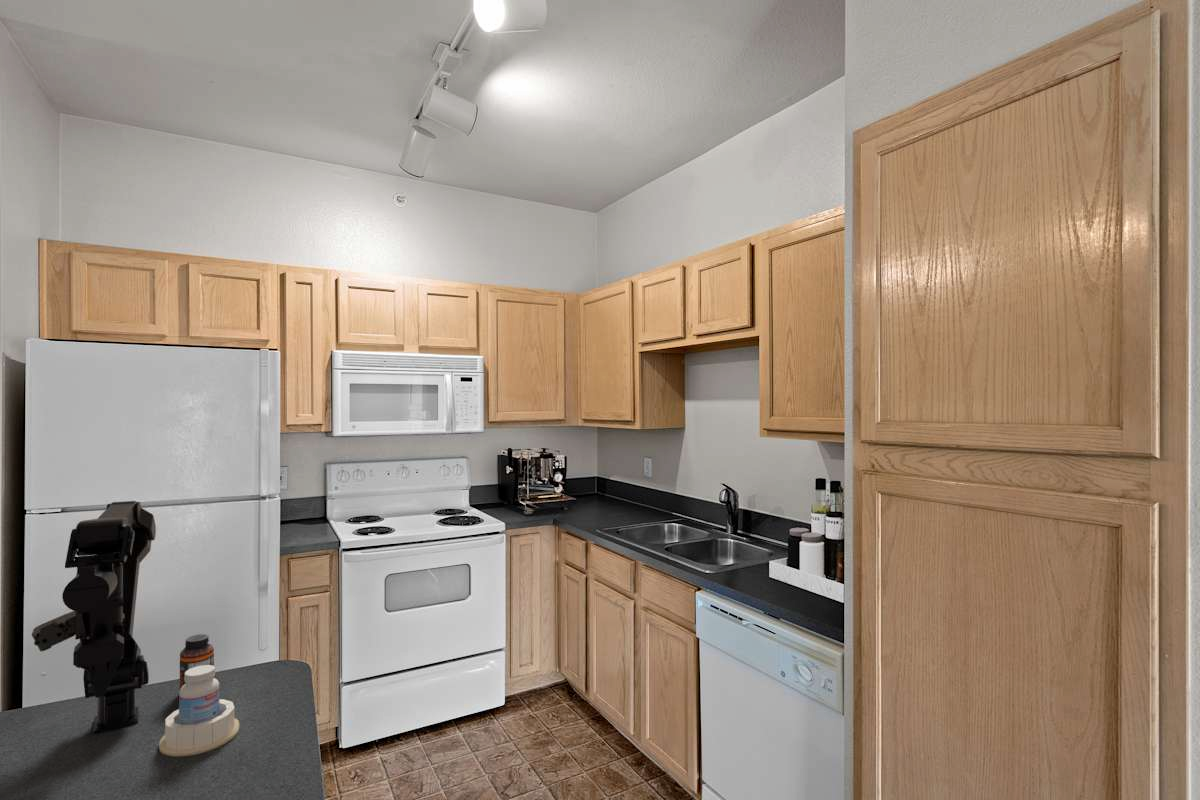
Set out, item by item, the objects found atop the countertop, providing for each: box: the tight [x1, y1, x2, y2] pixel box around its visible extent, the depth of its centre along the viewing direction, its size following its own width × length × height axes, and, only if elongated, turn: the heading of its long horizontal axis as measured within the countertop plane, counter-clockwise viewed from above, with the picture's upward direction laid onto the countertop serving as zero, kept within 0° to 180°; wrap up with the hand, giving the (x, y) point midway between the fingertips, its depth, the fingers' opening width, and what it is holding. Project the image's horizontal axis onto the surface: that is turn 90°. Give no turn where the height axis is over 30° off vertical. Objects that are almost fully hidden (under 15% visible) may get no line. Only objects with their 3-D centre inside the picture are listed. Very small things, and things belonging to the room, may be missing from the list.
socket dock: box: [158, 698, 240, 758], centre depth 109 cm, size 12×12×4 cm
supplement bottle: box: [178, 633, 215, 691], centre depth 126 cm, size 6×6×11 cm
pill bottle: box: [178, 665, 220, 725], centre depth 109 cm, size 6×6×11 cm
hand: (100, 686), depth 103 cm, fingers open, 9 cm apart
